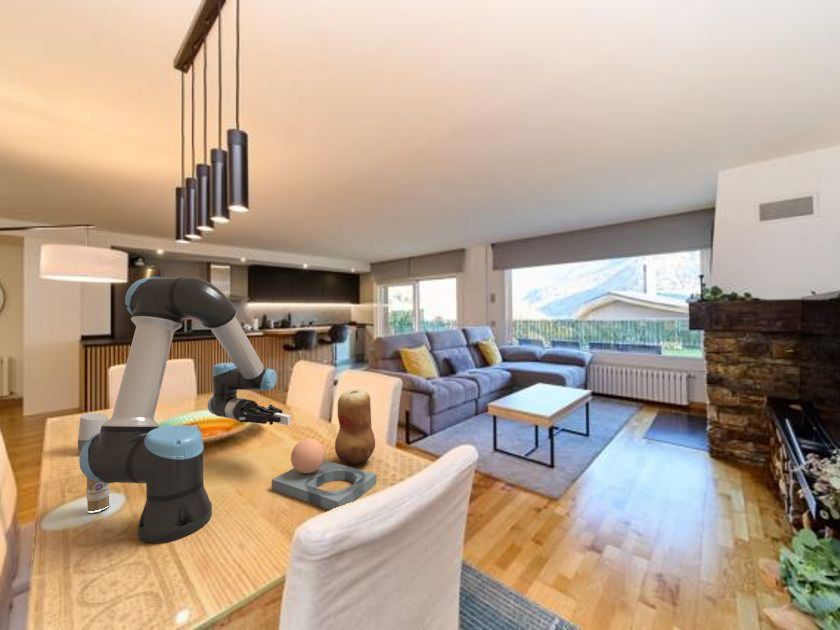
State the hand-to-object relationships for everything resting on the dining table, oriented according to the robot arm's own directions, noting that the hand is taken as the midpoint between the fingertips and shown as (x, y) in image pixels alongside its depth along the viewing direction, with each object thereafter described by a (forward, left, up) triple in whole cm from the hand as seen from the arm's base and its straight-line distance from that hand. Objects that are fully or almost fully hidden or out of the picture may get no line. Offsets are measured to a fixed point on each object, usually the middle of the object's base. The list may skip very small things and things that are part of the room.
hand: (289, 420), depth 112 cm
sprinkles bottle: (-18, +45, -18) cm, 51 cm away
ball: (-5, -7, -10) cm, 13 cm away
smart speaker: (+22, +81, -18) cm, 86 cm away
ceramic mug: (+28, +50, -18) cm, 60 cm away
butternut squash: (+8, -20, -18) cm, 28 cm away
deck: (-8, -12, -18) cm, 23 cm away
